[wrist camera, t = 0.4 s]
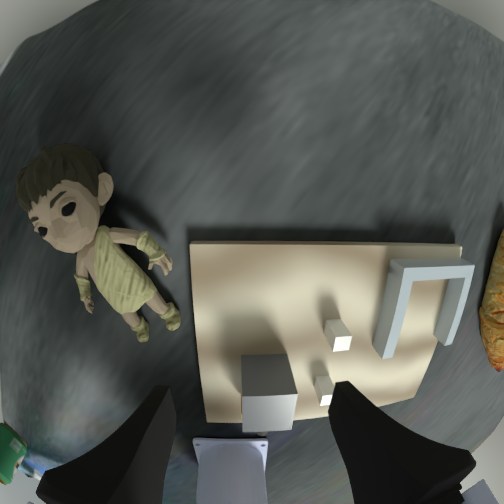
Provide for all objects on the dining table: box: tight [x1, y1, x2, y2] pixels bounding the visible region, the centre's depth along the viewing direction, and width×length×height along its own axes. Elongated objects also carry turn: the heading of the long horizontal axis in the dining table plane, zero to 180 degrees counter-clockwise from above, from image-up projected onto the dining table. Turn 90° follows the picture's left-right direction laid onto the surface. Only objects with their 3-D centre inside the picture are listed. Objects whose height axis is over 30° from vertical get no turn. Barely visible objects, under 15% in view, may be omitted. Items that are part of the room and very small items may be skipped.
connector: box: [241, 354, 298, 436], centre depth 19 cm, size 8×4×4 cm, turn 179°
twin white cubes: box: [314, 319, 352, 406], centre depth 19 cm, size 7×1×2 cm, turn 179°
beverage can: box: [0, 423, 27, 485], centre depth 21 cm, size 8×8×12 cm
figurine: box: [16, 143, 181, 342], centre depth 16 cm, size 8×6×15 cm
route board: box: [190, 241, 462, 423], centre depth 21 cm, size 17×22×1 cm
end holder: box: [372, 258, 475, 359], centre depth 18 cm, size 8×8×2 cm
